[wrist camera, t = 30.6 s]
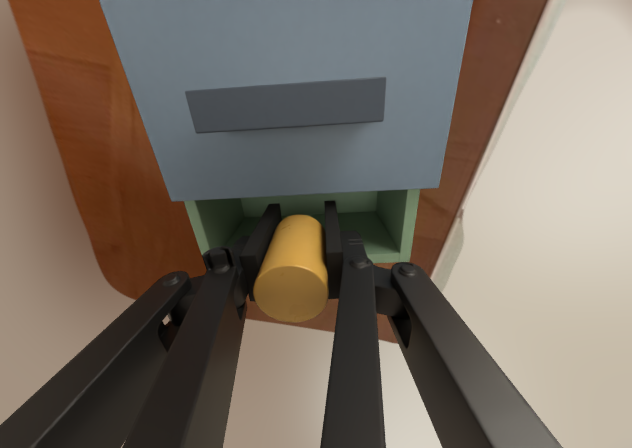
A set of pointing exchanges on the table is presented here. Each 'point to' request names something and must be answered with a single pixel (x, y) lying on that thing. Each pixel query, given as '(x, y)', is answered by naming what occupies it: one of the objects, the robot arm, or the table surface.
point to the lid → (292, 92)
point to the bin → (352, 210)
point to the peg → (294, 271)
